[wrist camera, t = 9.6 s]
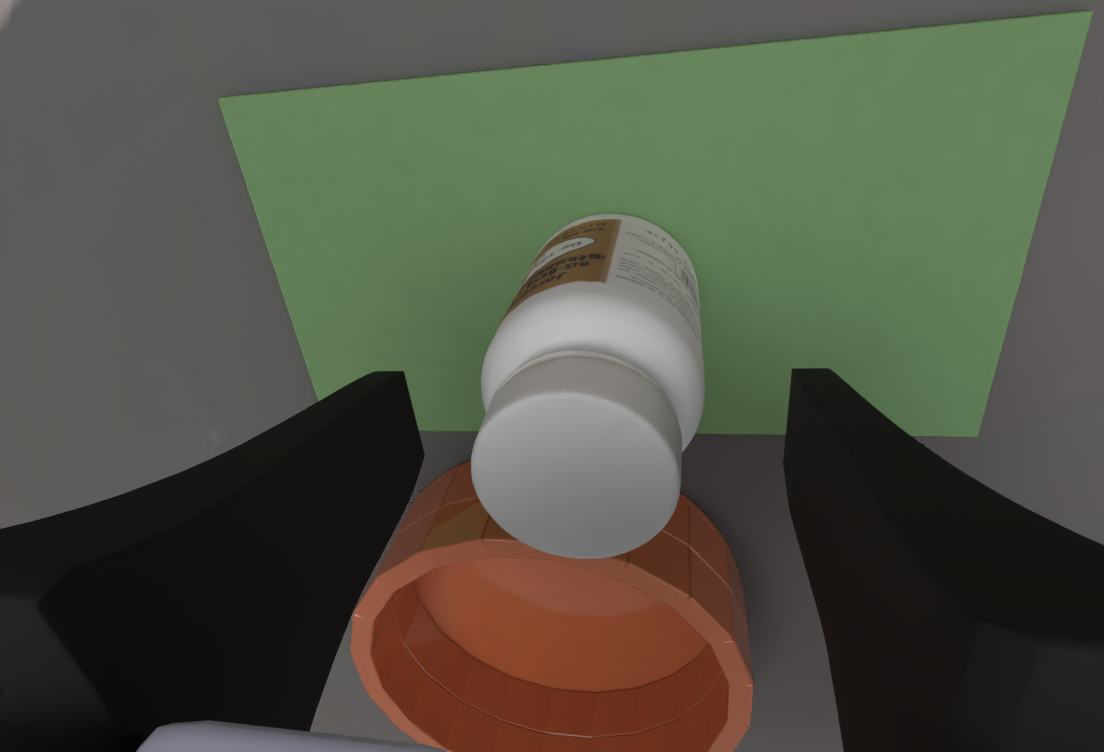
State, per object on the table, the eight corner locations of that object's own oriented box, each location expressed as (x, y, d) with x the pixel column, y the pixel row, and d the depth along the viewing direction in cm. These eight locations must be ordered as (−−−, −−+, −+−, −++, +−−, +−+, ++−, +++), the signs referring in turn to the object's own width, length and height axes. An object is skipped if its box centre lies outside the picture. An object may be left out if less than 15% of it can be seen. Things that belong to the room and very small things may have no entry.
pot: (749, 451, 19) (765, 551, 16) (734, 707, 25) (743, 819, 22) (360, 445, 22) (301, 530, 18) (432, 681, 28) (398, 777, 24)
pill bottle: (579, 175, 16) (508, 311, 9) (733, 266, 16) (772, 457, 10) (502, 316, 18) (400, 507, 11) (639, 391, 18) (619, 616, 12)
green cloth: (1086, 9, 13) (1095, 10, 12) (973, 430, 18) (978, 437, 17) (223, 96, 16) (216, 98, 16) (331, 425, 21) (327, 430, 21)
